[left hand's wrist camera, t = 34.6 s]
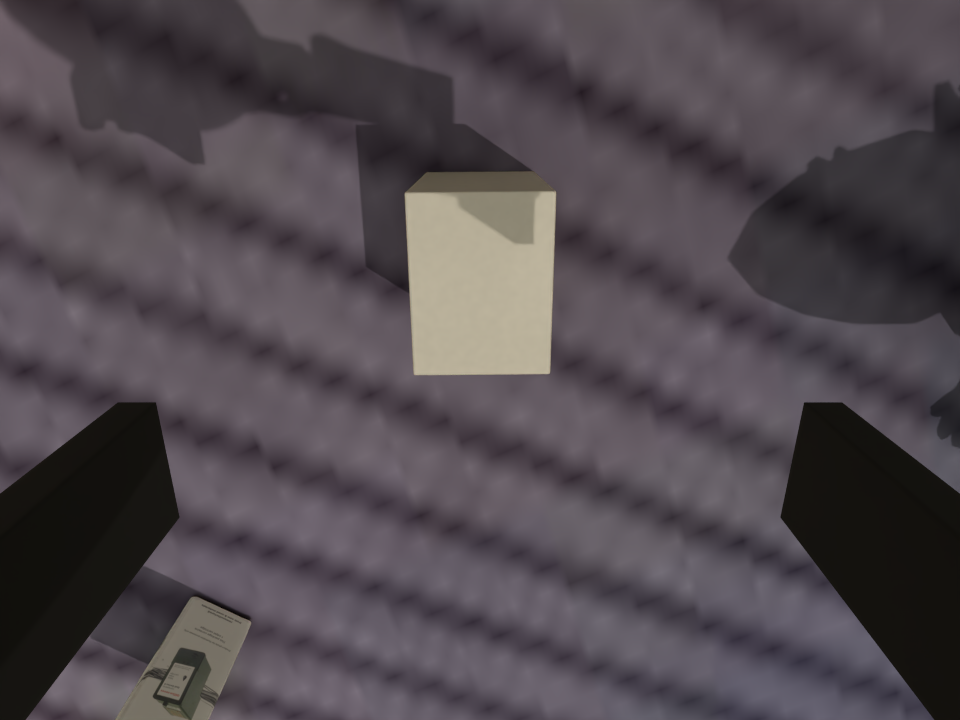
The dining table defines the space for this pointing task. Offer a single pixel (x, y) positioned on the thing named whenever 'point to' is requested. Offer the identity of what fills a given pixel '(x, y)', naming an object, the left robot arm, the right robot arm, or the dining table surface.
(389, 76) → the dining table surface
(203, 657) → the ink box
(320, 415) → the dining table surface
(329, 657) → the dining table surface
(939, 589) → the left robot arm
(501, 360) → the brick
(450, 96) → the dining table surface
